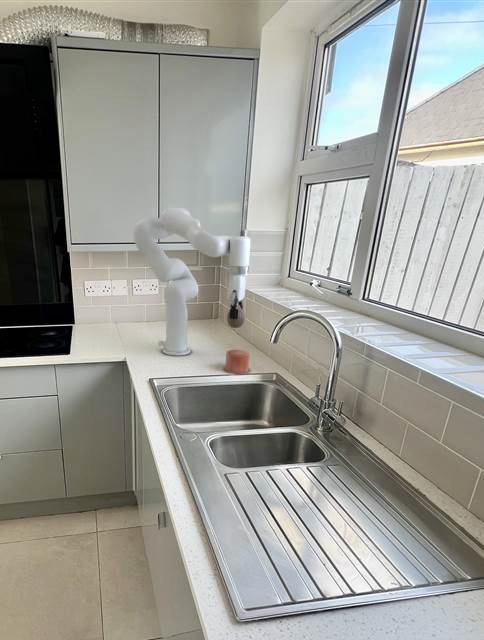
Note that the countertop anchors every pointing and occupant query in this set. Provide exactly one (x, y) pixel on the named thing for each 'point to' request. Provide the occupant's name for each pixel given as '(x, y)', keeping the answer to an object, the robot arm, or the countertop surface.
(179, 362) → the countertop surface
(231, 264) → the robot arm
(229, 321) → the vase
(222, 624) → the countertop surface
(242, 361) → the upturned mug
